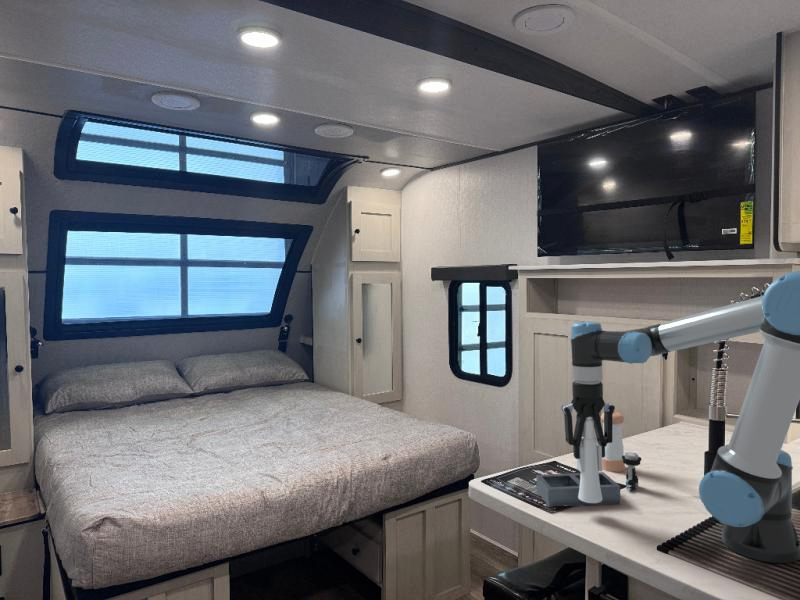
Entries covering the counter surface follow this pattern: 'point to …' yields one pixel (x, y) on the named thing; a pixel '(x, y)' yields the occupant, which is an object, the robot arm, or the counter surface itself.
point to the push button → (631, 470)
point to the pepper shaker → (614, 446)
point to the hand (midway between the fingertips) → (589, 469)
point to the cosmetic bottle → (589, 466)
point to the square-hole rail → (574, 490)
